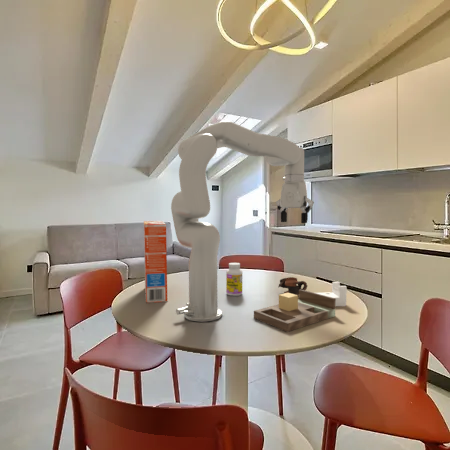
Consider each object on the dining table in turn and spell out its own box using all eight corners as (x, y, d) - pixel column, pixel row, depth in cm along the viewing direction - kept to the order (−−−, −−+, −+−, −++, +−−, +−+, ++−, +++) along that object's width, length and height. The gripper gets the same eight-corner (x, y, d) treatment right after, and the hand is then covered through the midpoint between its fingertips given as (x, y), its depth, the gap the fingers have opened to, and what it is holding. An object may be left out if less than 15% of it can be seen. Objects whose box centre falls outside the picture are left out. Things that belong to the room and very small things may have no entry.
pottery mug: (277, 298, 139) (274, 278, 143) (284, 302, 147) (281, 284, 150) (307, 293, 135) (303, 273, 138) (312, 298, 142) (308, 279, 146)
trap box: (287, 331, 102) (287, 311, 101) (253, 318, 114) (253, 300, 114) (335, 316, 116) (335, 298, 115) (300, 305, 128) (300, 289, 127)
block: (288, 311, 113) (288, 297, 113) (278, 307, 117) (278, 294, 116) (297, 308, 116) (298, 295, 115) (287, 305, 119) (288, 292, 119)
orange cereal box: (167, 301, 133) (166, 224, 131) (146, 303, 132) (144, 224, 129) (163, 287, 156) (162, 220, 154) (145, 288, 154) (143, 221, 152)
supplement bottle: (223, 295, 142) (223, 264, 141) (230, 291, 148) (230, 261, 147) (238, 297, 139) (238, 265, 138) (244, 293, 145) (244, 262, 144)
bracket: (338, 301, 134) (338, 281, 133) (346, 306, 127) (346, 286, 126) (305, 302, 133) (305, 282, 132) (311, 307, 126) (311, 287, 125)
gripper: (271, 180, 141) (270, 222, 142) (308, 178, 128) (307, 223, 130) (282, 180, 146) (281, 221, 147) (318, 178, 134) (317, 223, 135)
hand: (293, 222), depth 138 cm, fingers open, 9 cm apart
